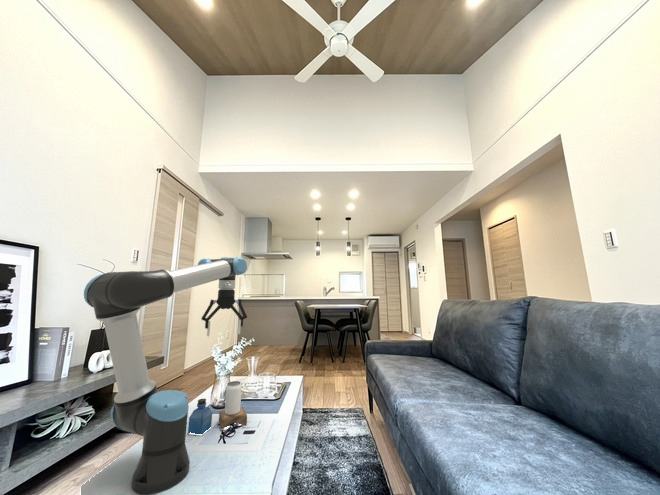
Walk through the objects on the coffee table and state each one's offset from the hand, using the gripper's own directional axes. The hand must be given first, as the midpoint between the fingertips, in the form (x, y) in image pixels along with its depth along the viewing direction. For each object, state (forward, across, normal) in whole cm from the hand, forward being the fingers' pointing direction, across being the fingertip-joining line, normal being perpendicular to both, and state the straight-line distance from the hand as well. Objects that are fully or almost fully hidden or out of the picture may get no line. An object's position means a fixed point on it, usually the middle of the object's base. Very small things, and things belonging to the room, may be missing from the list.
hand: (223, 334), depth 126 cm
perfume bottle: (+37, -8, -7) cm, 38 cm away
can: (+33, +5, -6) cm, 33 cm away
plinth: (+37, +5, -6) cm, 38 cm away
